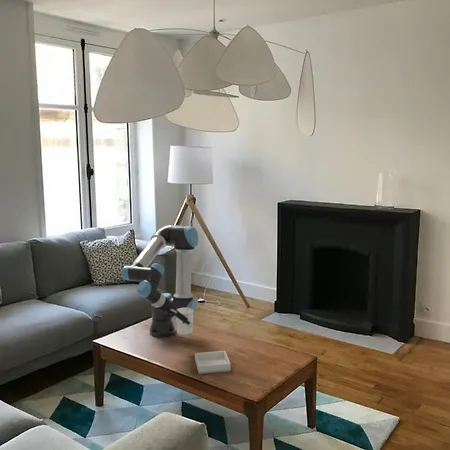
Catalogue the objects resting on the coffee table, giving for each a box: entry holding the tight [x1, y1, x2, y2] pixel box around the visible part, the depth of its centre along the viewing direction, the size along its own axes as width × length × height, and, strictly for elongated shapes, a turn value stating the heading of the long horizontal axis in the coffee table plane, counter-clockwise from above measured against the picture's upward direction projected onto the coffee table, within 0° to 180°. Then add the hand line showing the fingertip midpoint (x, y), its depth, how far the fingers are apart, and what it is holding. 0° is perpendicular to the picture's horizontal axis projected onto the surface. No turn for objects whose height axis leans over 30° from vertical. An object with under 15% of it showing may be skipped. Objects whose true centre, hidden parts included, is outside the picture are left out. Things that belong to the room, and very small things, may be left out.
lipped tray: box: [194, 350, 232, 375], centre depth 265 cm, size 16×16×4 cm
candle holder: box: [175, 308, 194, 336], centre depth 280 cm, size 10×10×12 cm
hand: (186, 323), depth 281 cm, fingers closed on candle holder, 9 cm apart
